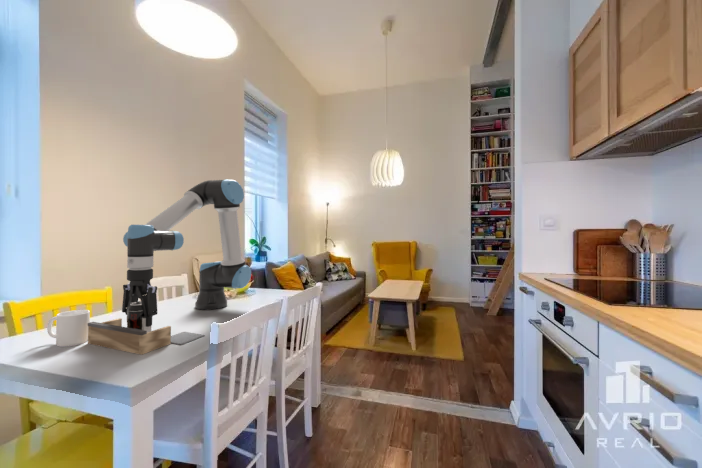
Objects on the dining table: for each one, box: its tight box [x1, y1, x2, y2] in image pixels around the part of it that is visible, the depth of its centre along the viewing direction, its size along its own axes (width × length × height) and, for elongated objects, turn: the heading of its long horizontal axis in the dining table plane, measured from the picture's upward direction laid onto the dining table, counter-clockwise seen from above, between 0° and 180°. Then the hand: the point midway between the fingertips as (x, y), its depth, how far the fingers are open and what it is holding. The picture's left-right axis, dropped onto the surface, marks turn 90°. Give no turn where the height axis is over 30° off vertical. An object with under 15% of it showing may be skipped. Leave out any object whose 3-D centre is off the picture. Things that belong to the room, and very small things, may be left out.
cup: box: [46, 309, 91, 348], centre depth 102 cm, size 8×12×10 cm
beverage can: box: [126, 300, 144, 330], centre depth 105 cm, size 7×7×12 cm
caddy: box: [87, 317, 172, 355], centre depth 102 cm, size 10×25×7 cm, turn 71°
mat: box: [171, 331, 206, 346], centre depth 108 cm, size 10×10×1 cm
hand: (139, 334), depth 105 cm, fingers closed on beverage can, 7 cm apart
